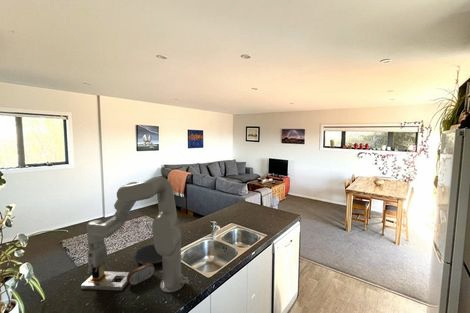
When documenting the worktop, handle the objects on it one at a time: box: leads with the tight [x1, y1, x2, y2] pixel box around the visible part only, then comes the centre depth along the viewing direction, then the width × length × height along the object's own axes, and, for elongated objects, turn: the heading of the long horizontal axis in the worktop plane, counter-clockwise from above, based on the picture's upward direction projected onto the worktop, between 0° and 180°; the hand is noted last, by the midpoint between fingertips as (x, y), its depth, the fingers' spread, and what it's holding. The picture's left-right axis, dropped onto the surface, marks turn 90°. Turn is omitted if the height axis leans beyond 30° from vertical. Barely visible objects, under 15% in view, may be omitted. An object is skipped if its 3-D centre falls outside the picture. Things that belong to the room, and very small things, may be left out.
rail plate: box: [80, 270, 130, 291], centre depth 123 cm, size 22×12×2 cm, turn 87°
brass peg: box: [93, 262, 105, 281], centre depth 122 cm, size 4×4×9 cm
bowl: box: [133, 244, 163, 266], centre depth 145 cm, size 22×22×5 cm
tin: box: [127, 263, 156, 286], centre depth 123 cm, size 15×3×8 cm, turn 135°
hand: (98, 274), depth 123 cm, fingers closed on brass peg, 4 cm apart
